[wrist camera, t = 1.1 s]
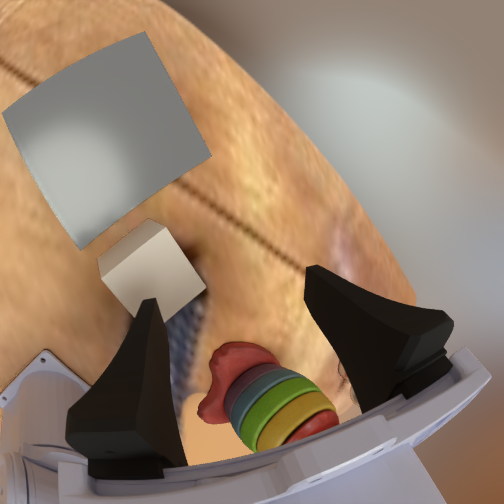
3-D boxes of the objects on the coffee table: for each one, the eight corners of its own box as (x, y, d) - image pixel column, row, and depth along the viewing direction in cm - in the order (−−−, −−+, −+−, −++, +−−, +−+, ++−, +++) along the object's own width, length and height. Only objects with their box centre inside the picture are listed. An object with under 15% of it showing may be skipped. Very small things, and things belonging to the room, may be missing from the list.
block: (135, 305, 21) (150, 334, 17) (96, 258, 18) (100, 278, 14) (181, 267, 23) (206, 287, 18) (147, 218, 20) (166, 227, 16)
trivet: (80, 247, 17) (80, 250, 16) (5, 116, 11) (1, 112, 10) (205, 157, 21) (212, 156, 20) (141, 38, 15) (145, 31, 15)
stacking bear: (214, 340, 26) (359, 465, 12) (288, 340, 32) (416, 417, 18) (193, 420, 27) (292, 538, 12) (262, 409, 33) (361, 492, 18)
